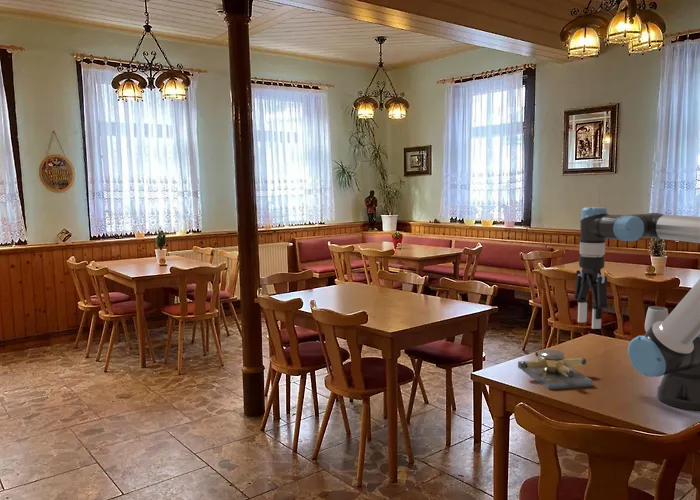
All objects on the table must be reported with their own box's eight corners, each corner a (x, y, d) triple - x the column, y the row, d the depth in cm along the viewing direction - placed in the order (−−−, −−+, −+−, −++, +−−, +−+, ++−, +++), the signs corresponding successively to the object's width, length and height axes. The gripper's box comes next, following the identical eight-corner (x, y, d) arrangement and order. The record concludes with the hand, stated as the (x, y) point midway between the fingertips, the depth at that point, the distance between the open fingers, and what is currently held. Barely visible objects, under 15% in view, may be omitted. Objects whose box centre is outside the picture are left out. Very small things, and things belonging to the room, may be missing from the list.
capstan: (606, 379, 184) (606, 363, 184) (537, 384, 181) (537, 368, 180) (567, 356, 207) (568, 342, 207) (505, 360, 204) (506, 346, 203)
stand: (592, 386, 185) (592, 377, 184) (548, 389, 182) (548, 380, 182) (557, 364, 206) (557, 356, 206) (518, 367, 204) (518, 358, 204)
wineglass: (661, 363, 207) (664, 306, 204) (670, 370, 199) (674, 310, 196) (639, 362, 207) (642, 305, 205) (647, 369, 200) (651, 310, 197)
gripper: (622, 259, 174) (618, 332, 177) (585, 251, 194) (582, 317, 197) (599, 260, 173) (596, 334, 176) (564, 251, 193) (562, 318, 196)
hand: (589, 325), depth 186 cm, fingers open, 8 cm apart
